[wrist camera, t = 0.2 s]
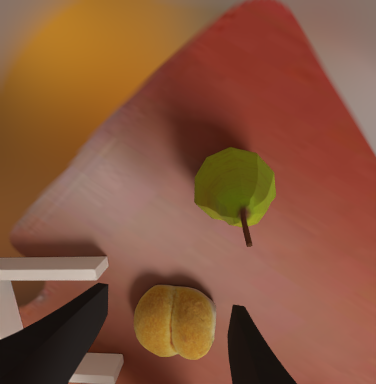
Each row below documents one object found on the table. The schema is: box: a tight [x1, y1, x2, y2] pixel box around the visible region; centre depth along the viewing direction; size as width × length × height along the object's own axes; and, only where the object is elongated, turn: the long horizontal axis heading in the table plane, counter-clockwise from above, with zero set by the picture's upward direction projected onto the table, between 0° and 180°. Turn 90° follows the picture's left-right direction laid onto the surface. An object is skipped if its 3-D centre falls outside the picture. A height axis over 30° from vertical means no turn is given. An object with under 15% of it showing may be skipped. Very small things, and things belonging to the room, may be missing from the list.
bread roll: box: [134, 285, 216, 360], centre depth 21 cm, size 8×9×4 cm
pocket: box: [0, 256, 124, 384], centre depth 20 cm, size 14×14×10 cm
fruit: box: [194, 147, 276, 247], centre depth 14 cm, size 6×6×12 cm
